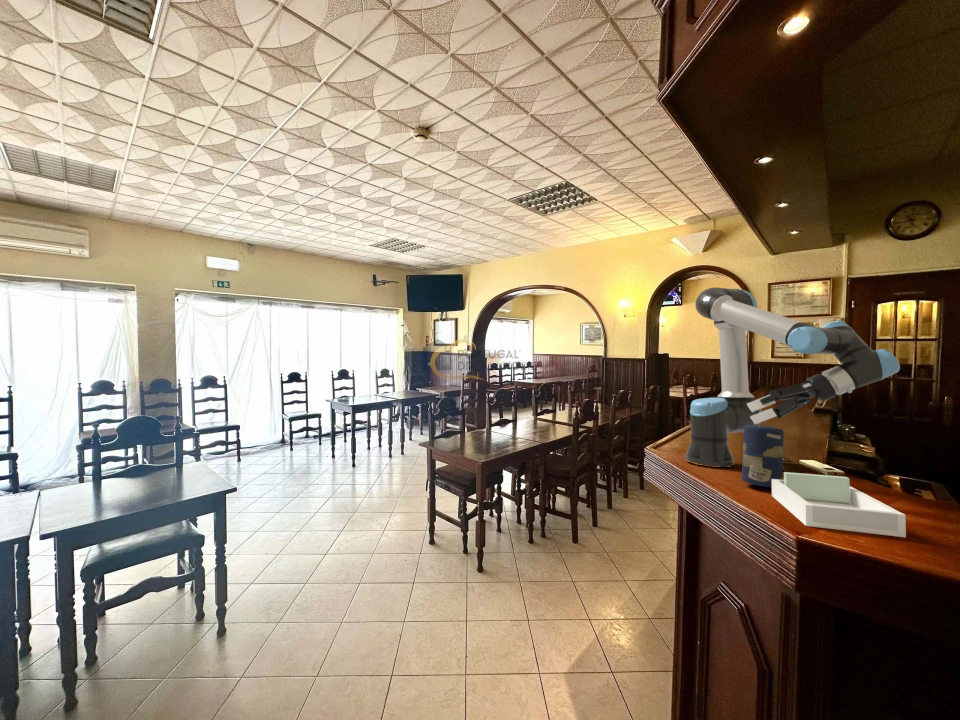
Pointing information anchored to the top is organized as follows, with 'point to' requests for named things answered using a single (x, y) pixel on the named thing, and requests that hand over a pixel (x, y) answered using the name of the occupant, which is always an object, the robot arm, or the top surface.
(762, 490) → the top surface
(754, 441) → the dark blue canister
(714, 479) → the top surface
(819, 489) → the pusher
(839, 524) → the white tray
